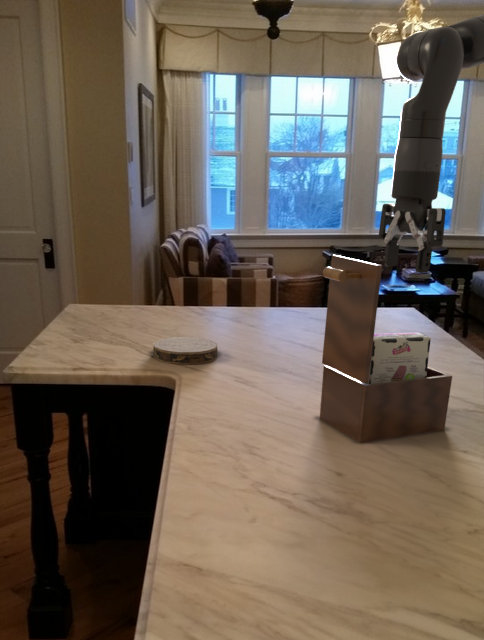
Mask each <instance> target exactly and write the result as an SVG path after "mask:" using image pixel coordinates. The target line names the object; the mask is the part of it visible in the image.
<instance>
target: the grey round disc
mask: <svg viewBox="0 0 484 640" xmlns="http://www.w3.org/2000/svg"><path fill="white" fill-rule="evenodd" d="M152 351H153V358H154V359H155V360H157V361H159V362H162V363H165V364H166V363H167V364H171V365H201V364H207V363H211V362H213V361H215V360H217V359H218V343H217V342H216V341H214V340H212V339H209V338H205V337H204V338H203V337H193V336H173V337H166V338H161V339H157V340H156V341H154V342H153V350H152Z"/></svg>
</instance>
